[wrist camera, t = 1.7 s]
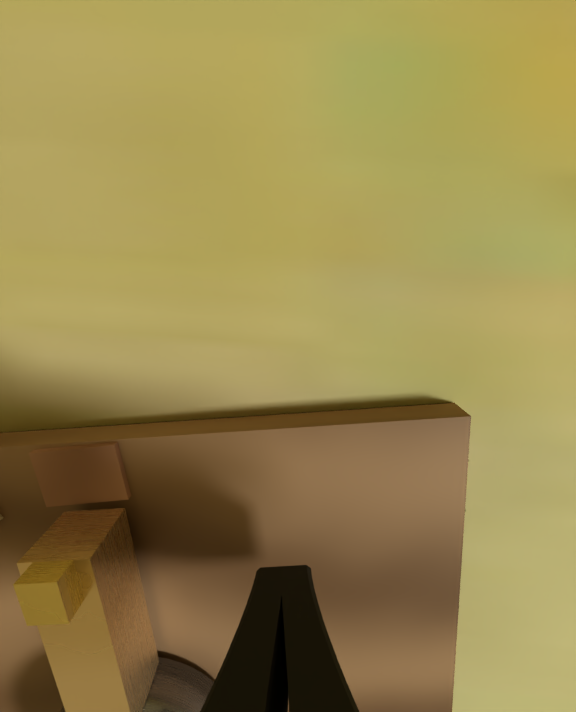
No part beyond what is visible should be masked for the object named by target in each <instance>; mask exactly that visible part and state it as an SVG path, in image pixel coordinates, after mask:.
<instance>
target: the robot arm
mask: <svg viewBox="0 0 576 712" xmlns="http://www.w3.org/2000/svg"><path fill="white" fill-rule="evenodd" d="M288 700H289V712H359V710H358V707H357V705H356V703H355V700H354V698H353V696H352V693H351V691H350V689H349V686H348V684H347V682H346V679H345V677H344V674H343V672H342V669H341V667H340V664H339V662H338V659H337V656H336V654H335V651H334V648H333V646H332V643H331V640H330V638H329V635H328V632H327V629H326V626H325V623H324V620H323V617H322V614H321V611H320V607H319V604H318V600H317V597H316V593H315V589H314V584H313V579H312V573H311V568H310V567H309V566H307V565H295V566H277V567H260V568H259V569H258V570H257V571H256V575H255V579H254V583H253V586H252V589H251V592H250V595H249V598H248V601H247V604H246V607H245V610H244V612H243V615H242V618H241V620H240V623H239V625H238V628H237V630H236V633H235V635H234V638H233V640H232V642H231V645H230V647H229V650H228V652H227V654H226V657H225V659H224V661H223V664H222V666H221V668H220V670H219V673H218V675H217V677H216V679H215V681H214V683H213V685H212V687H211V690H210V692H209V694H208V696H207V698H206V700H205V702H204V705H203V707H202V709H201V711H200V712H288Z"/></svg>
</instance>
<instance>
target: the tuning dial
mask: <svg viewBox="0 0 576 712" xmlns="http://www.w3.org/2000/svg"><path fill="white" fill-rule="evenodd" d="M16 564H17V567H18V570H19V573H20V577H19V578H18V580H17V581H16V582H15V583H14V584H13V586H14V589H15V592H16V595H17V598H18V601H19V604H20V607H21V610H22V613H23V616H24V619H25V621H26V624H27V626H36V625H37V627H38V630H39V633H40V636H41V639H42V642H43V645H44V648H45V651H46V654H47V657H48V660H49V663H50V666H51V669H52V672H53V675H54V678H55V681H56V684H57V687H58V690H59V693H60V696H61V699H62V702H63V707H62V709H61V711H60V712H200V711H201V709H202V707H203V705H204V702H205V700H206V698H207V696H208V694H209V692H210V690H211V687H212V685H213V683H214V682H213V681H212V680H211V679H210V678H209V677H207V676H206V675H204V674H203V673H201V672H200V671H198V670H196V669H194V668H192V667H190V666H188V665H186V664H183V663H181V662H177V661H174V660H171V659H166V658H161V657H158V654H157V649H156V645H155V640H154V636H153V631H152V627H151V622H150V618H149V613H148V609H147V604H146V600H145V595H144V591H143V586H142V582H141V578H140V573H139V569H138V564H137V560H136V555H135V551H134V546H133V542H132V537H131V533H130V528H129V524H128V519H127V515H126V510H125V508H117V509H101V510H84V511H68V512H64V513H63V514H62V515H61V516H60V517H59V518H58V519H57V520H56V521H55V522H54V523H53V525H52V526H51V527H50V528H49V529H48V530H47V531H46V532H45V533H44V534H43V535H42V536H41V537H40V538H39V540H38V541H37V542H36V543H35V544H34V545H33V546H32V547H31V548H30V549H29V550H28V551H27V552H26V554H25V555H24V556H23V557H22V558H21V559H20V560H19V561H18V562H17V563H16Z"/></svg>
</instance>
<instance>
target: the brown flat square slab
mask: <svg viewBox="0 0 576 712" xmlns="http://www.w3.org/2000/svg"><path fill="white" fill-rule="evenodd" d="M470 423H471V416H470V415H469V414H467V413H466V412H465V411H464V410H462V409H461V408H460V407H459V406H458V405H456V404H455V403H444V404H429V405H414V406H399V407H384V408H369V409H354V410H338V411H323V412H308V413H293V414H278V415H263V416H248V417H233V418H218V419H203V420H188V421H172V422H157V423H142V424H127V425H112V426H97V427H82V428H67V429H52V430H37V431H21V432H6V433H0V712H60V711H61V709H62V707H63V702H62V699H61V696H60V693H59V690H58V687H57V684H56V681H55V678H54V675H53V672H52V669H51V666H50V663H49V660H48V657H47V654H46V651H45V648H44V645H43V642H42V639H41V636H40V633H39V630H38V627H37V625H36V626H27V624H26V621H25V619H24V616H23V613H22V610H21V607H20V604H19V601H18V598H17V595H16V592H15V589H14V586H13V584H14V583H15V582H16V581H17V580H18V578H19V577H20V573H19V570H18V567H17V564H16V563H17V562H18V561H19V560H20V559H21V558H22V557H23V556H24V555H25V554H26V552H27V551H28V550H29V549H30V548H31V547H32V546H33V545H34V544H35V543H36V542H37V541H38V540H39V538H40V537H41V536H42V535H43V534H44V533H45V532H46V531H47V530H48V529H49V528H50V527H51V526H52V525H53V523H54V522H55V521H56V520H57V519H58V518H59V517H60V516H61V515H62V514H63V513H64V512H68V511H84V510H101V509H117V508H125V510H126V515H127V519H128V524H129V528H130V533H131V537H132V542H133V546H134V551H135V555H136V560H137V564H138V569H139V573H140V578H141V582H142V586H143V591H144V595H145V600H146V604H147V609H148V613H149V618H150V622H151V627H152V631H153V636H154V640H155V645H156V649H157V654H158V657H161V658H166V659H171V660H174V661H177V662H181V663H183V664H186V665H188V666H190V667H192V668H194V669H196V670H198V671H200V672H201V673H203V674H204V675H206V676H207V677H209V678H210V679H211V680H212V681H213V682H214V681H215V679H216V677H217V675H218V673H219V670H220V668H221V666H222V664H223V661H224V659H225V657H226V654H227V652H228V650H229V647H230V645H231V642H232V640H233V638H234V635H235V633H236V630H237V628H238V625H239V623H240V620H241V618H242V615H243V612H244V610H245V607H246V604H247V601H248V598H249V595H250V592H251V589H252V586H253V583H254V579H255V575H256V571H257V570H258V569H259V568H260V567H277V566H295V565H307V566H309V567H310V568H311V573H312V579H313V584H314V589H315V593H316V597H317V600H318V604H319V607H320V611H321V614H322V617H323V620H324V623H325V626H326V629H327V632H328V635H329V638H330V640H331V643H332V646H333V648H334V651H335V654H336V656H337V659H338V662H339V664H340V667H341V669H342V672H343V674H344V677H345V679H346V682H347V684H348V686H349V689H350V691H351V693H352V696H353V698H354V700H355V703H356V705H357V707H358V710H359V712H452V701H453V686H454V670H455V655H456V639H457V624H458V609H459V593H460V578H461V562H462V547H463V531H464V516H465V500H466V485H467V469H468V454H469V439H470ZM288 712H289V700H288Z"/></svg>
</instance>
